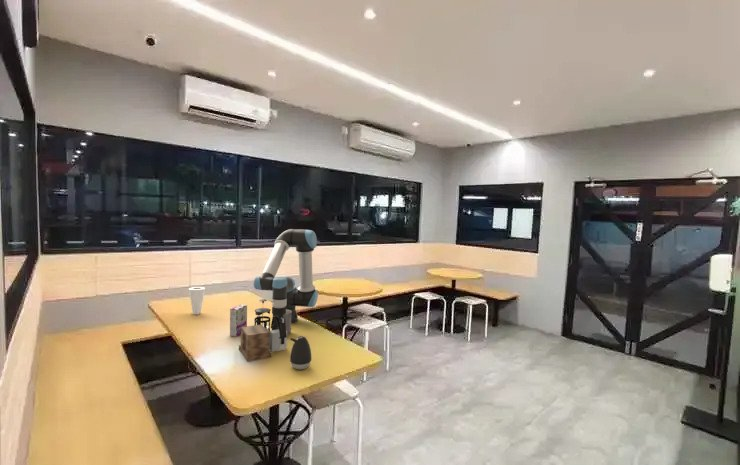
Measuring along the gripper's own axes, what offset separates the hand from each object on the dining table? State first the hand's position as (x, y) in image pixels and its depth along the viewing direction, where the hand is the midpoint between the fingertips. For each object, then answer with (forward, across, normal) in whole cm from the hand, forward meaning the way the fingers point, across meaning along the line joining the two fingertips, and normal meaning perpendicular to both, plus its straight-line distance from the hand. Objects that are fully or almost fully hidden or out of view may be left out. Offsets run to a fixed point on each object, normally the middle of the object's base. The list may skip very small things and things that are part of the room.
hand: (277, 345), depth 192 cm
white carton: (+2, 0, 0) cm, 2 cm away
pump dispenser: (+2, +27, +2) cm, 27 cm away
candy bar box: (+2, -34, -13) cm, 36 cm away
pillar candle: (+2, -23, +11) cm, 26 cm away
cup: (+2, -88, -29) cm, 93 cm away
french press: (+2, -20, -3) cm, 20 cm away
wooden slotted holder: (+2, 0, -12) cm, 12 cm away
